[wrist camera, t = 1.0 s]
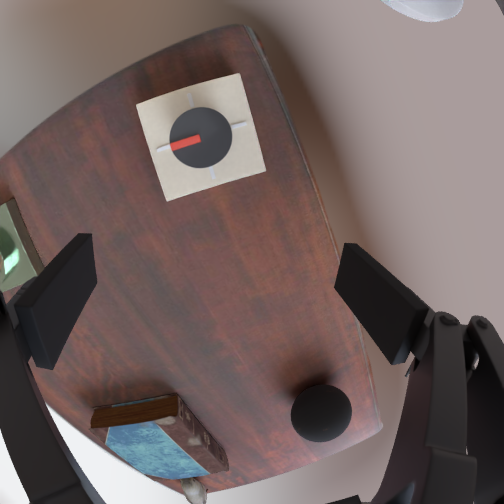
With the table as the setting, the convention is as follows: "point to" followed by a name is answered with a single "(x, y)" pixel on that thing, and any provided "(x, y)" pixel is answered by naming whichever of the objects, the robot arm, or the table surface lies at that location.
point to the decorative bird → (194, 490)
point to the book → (159, 438)
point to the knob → (200, 137)
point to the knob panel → (210, 96)
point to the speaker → (321, 413)
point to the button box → (16, 249)
